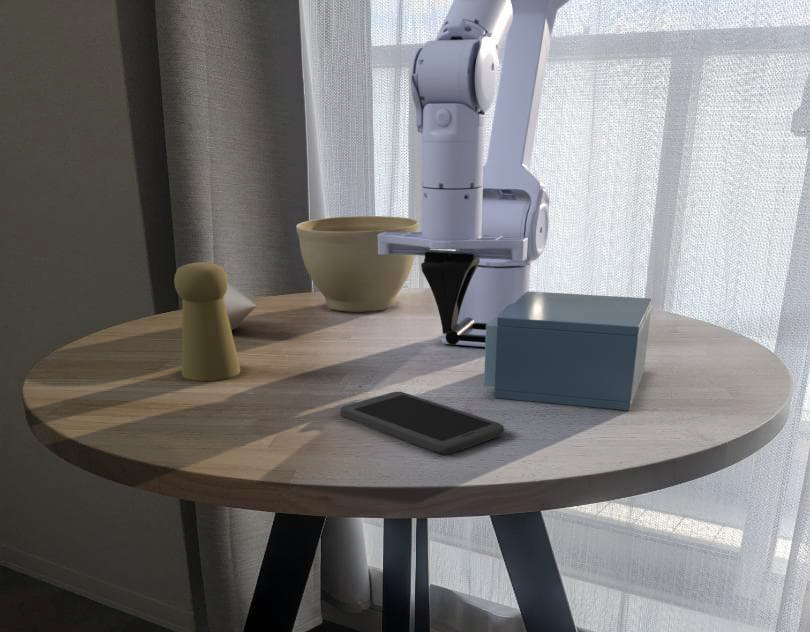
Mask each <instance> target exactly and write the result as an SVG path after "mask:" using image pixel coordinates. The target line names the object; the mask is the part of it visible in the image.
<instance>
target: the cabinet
mask: <svg viewBox="0 0 810 632" xmlns="http://www.w3.org/2000/svg"><path fill="white" fill-rule="evenodd" d="M652 305H653V298H648V297H632V296H618V295H617V296H615V295H601V294H600V295H599V294H597V295H596V294H583V293H582V294H581V293H566V292H565V293H564V292H547V291H530V290H529V291H527V292H526V293H525V294H524V295H522V296H521V297H520V298H519V299H518V300H517V301H516V302H515V303H513V304H512V305H511V306H510V307H509V308H508V309H507V310H506V311H504V312H503V313H502V314H501V315H500V316H499V317H498V318H497V341H496V367H495V386H494V399H495V398H496V399H505V400H515V401H516V400H517V401H525V402H535V403H547V404H558V405H566V406H567V405H568V406H577V407H587V408H598V409H607V410H619V411H630V410H631V407H632V405H633V403H634V399H635V397H636V394H637V391H638V389H639V386H640V384H641V381H642V378H643V376H644V373H645V364H646V357H647V347H648V339H649V330H650V322H651V313H652Z"/></svg>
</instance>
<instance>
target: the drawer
mask: <svg viewBox="0 0 810 632" xmlns="http://www.w3.org/2000/svg"><path fill="white" fill-rule="evenodd" d="M515 302H516V301H513V302H512V303H511V304H510V305H508V306H507V307H506V308H505V309H504V310H503V311H502V312H500V313H499V314H498V315H497V316H496V317H495V318H494V319H493V320H491V321H490V322H489V323H477V322H474V320H473V319H472V318H465V319H464V320H463V321H461V322H460V323H459V324H457V325H456V326H455V327H454V328H452V329H451V330H450V331H449V332H447V334H446V341H447V342H448V343H449V344H448V345H452V346H454V345H455V344H457V343H458V342H459V341H469V342H482V343H485V347H484V349H485V350H484V372H483V373H484V374H483V386H485V387H495V367H496V341H497V318H498V317H499V316H500V315H501V314H502V313H503V312H504V311H506V310H507V309H508V308H509V307H510V306H511V305H512V304H513V303H515ZM473 329H477V330H486V335H473V334H469V333H470V332H471V331H472V330H473ZM455 346H456V345H455Z"/></svg>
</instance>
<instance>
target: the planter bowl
mask: <svg viewBox="0 0 810 632" xmlns="http://www.w3.org/2000/svg"><path fill="white" fill-rule="evenodd" d="M295 226H296V227H295V228H296V233H297V236H298V241H299V248H300V249H299V250H300V254H301V257H302V260H303V264H304V266H305V269H306V271H307V274H308V275H309V277H310V279H311V281H312V282H313V284H314V285H315V287H316V288H317V289H318V291H319V293H320V294H321V295H322V296H323V297H324V300H325V305H326V307H327V308H329V309H331V310H334V311H339V312H355V313H356V312H371V311H380V310H387V309H389V308H391V307H393V306H395V305H396V303H397V297H398V293H399V292H400V291H401V290H402V288H403V287H404V285H405V284H406V281H407V279H408V278H409V275H410V273H411V270H412V268H413V265H414V261H415V257H416V255H402V254H389V255H379V254H378V234H380V233H383V232H419V226H420V225H419V221H418V220H417V219H415V218H410V217H409V218H408V217H404V216H403V217H402V216H386V215H385V216H384V215H354V216H353V215H351V216H334V217H324V218H316V219H311V220H310V219H309V220H307V221H303V222H300V223H297V224H296V225H295Z"/></svg>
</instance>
